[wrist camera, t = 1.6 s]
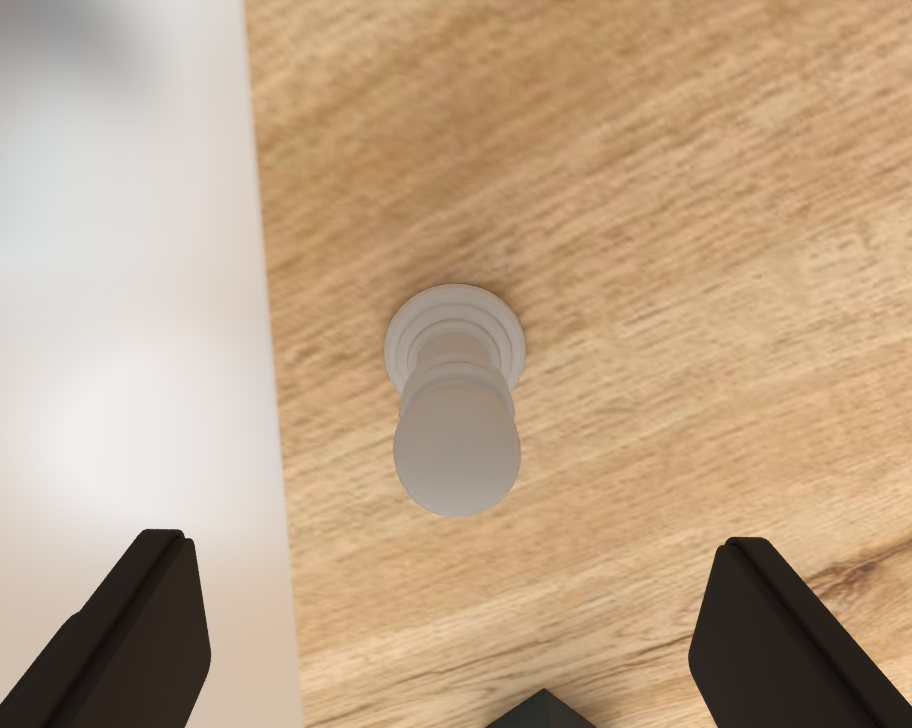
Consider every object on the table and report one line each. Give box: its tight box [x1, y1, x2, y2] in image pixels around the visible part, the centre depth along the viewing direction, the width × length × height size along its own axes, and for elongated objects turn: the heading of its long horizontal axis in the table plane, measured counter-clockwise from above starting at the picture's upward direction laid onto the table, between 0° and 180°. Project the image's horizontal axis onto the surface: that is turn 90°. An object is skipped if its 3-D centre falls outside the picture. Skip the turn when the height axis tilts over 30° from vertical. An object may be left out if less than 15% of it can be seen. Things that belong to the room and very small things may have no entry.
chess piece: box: [383, 284, 526, 517], centre depth 17 cm, size 5×5×9 cm
